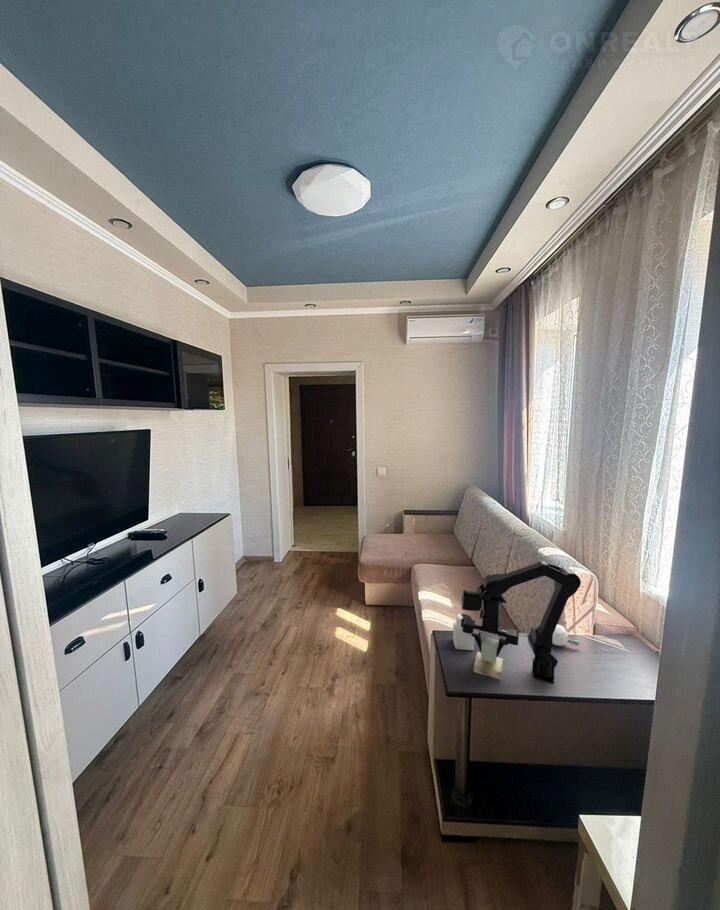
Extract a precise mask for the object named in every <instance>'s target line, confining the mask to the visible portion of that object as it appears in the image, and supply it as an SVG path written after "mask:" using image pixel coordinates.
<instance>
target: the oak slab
mask: <svg viewBox="0 0 720 910" xmlns="http://www.w3.org/2000/svg"><path fill="white" fill-rule="evenodd" d="M503 665H504V658H502V657H500V656H498V657H497V659H496V663H493V662H489V661H486V660H482V659H481V652H480V651H477V653H476V656H475V660H474V663H473V673H476V674H480V675H483V676H487V677H490V678H493V679H497V680H501V679H502V673H503Z"/></svg>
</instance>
